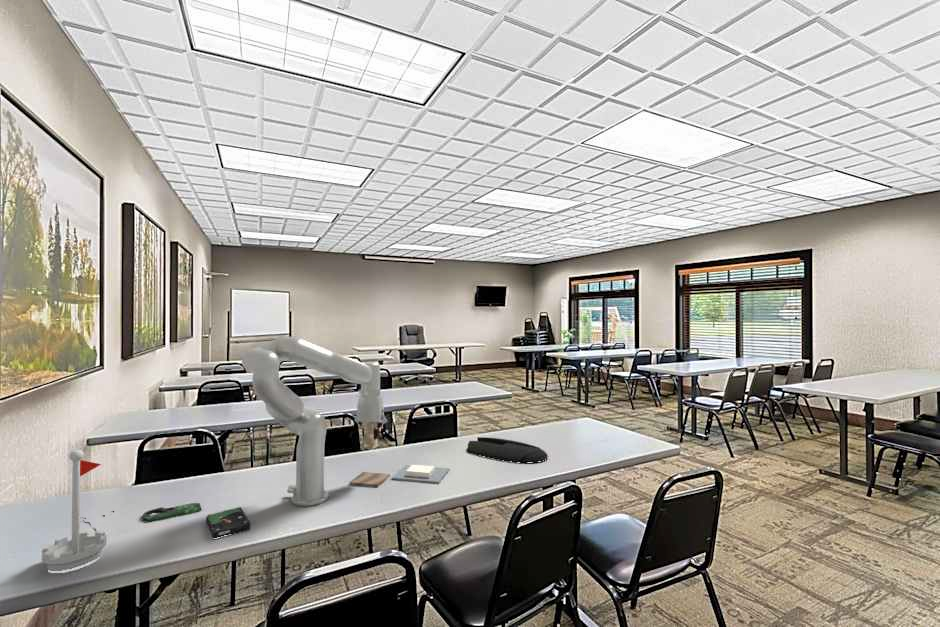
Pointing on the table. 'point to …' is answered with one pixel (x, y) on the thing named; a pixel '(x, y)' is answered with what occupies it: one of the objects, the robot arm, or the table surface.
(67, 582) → the table surface
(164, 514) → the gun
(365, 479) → the plate
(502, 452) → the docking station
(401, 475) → the mat
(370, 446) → the block
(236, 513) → the disk drive
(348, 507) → the table surface
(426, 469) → the tile
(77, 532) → the flag stand
